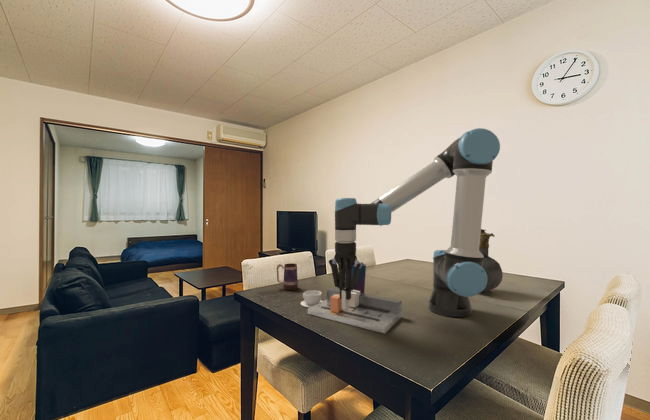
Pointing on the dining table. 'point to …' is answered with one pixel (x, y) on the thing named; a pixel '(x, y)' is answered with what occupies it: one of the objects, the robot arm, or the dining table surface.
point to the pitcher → (489, 265)
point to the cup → (360, 278)
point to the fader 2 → (354, 298)
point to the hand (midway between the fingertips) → (345, 307)
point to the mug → (289, 276)
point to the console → (362, 311)
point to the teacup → (311, 298)
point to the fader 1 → (335, 303)
